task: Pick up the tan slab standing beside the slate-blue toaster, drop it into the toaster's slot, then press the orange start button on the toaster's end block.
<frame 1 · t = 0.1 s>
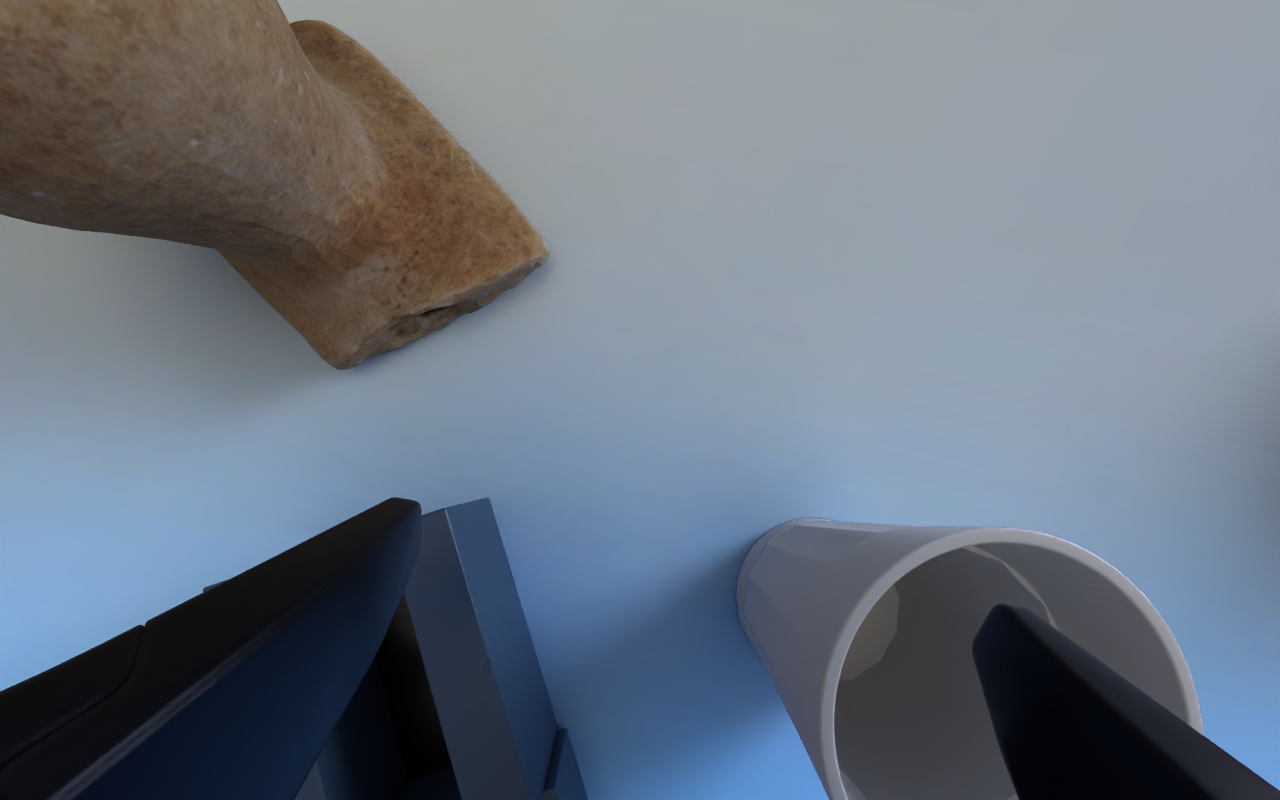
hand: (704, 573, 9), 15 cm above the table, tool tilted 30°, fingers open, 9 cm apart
toaster: (432, 641, 23), on the table
cup: (811, 595, 24), on the table
stone cup: (341, 226, 25), on the table
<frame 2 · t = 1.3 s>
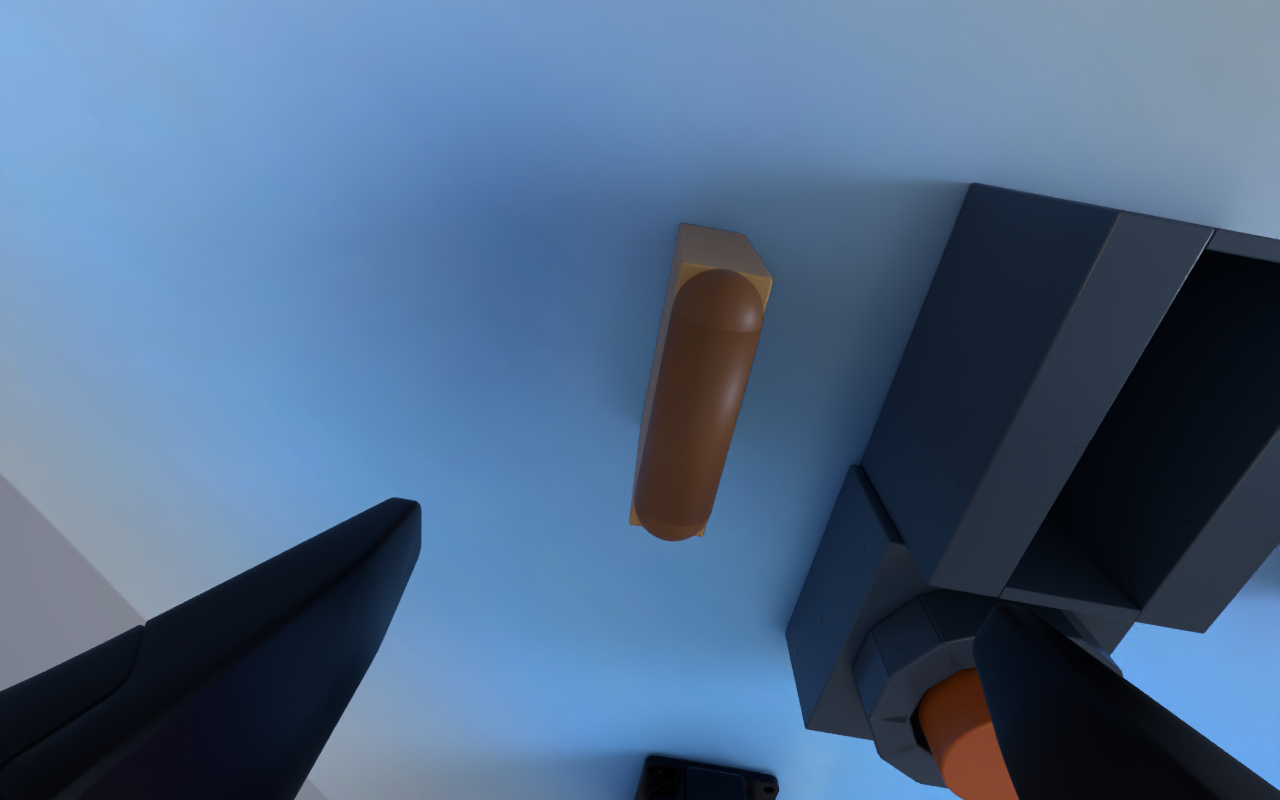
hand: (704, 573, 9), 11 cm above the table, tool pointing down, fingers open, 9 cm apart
tan slab: (689, 338, 19), on the table
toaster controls: (916, 573, 22), on the table
toaster: (1023, 359, 18), on the table
start button: (1002, 734, 16), point 6 cm above the table, slide at 0.1 cm
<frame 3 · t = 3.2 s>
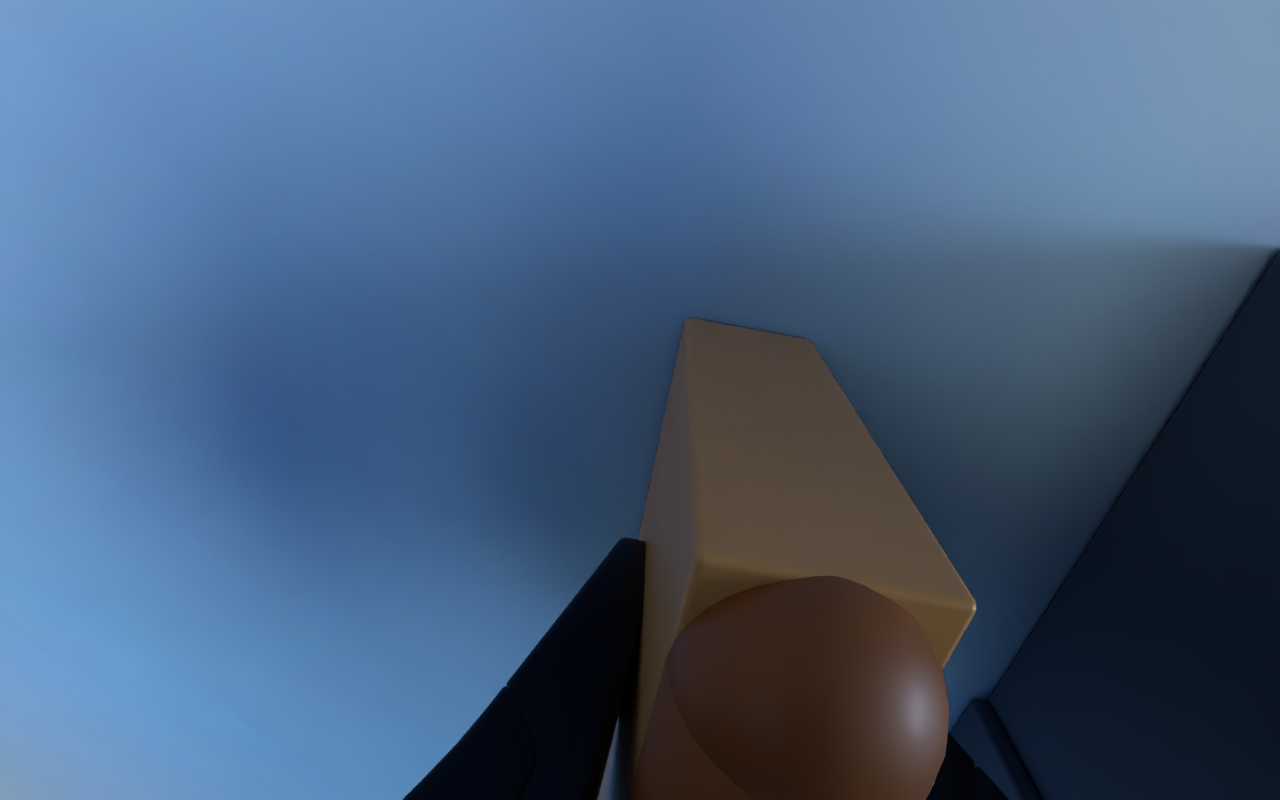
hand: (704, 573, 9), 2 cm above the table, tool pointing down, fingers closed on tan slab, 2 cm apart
tan slab: (700, 510, 10), on the table, touching gripper
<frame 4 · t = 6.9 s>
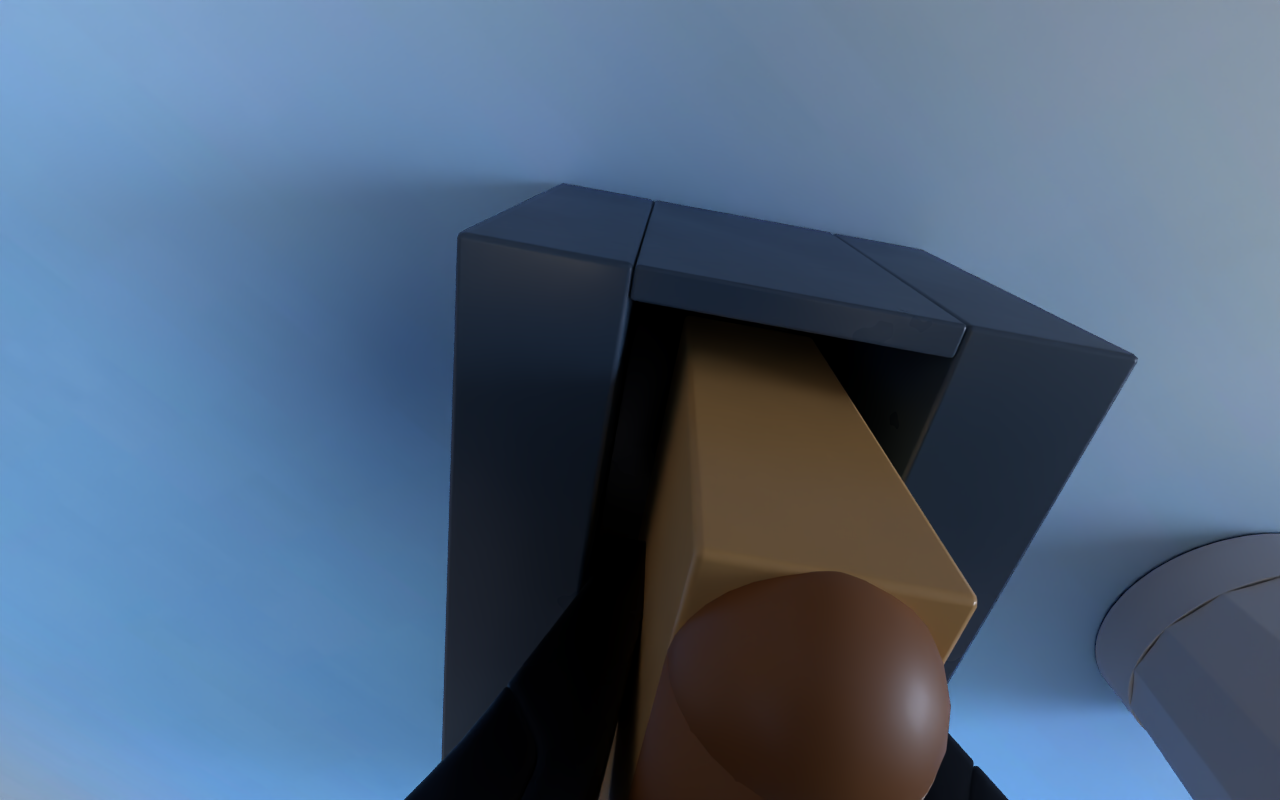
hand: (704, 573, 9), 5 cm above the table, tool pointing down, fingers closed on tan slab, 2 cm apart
tan slab: (700, 508, 10), point 3 cm above the table, touching gripper
toaster: (694, 421, 13), on the table
cup: (1219, 623, 15), on the table
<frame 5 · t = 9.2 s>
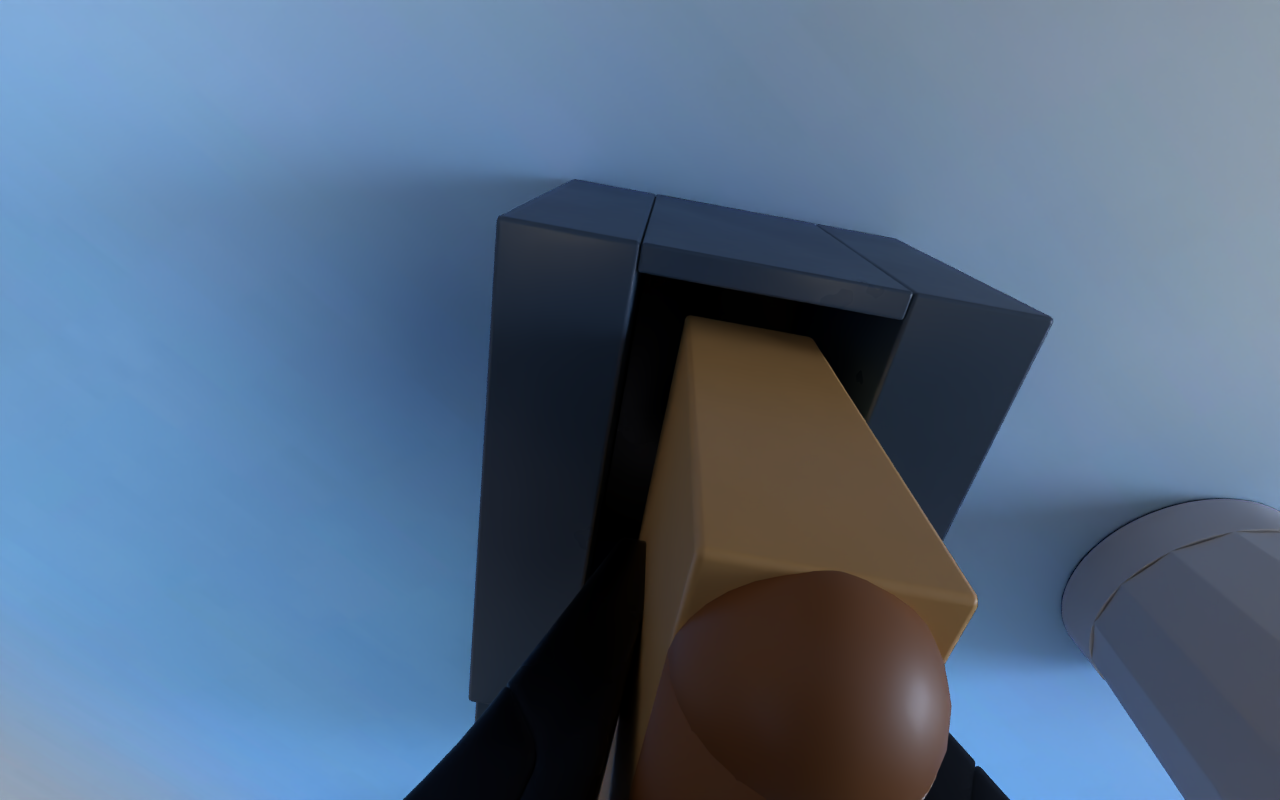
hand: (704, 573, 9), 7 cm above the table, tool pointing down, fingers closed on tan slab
tan slab: (701, 508, 10), point 5 cm above the table, touching gripper
toaster: (692, 396, 15), on the table
cup: (1175, 584, 17), on the table
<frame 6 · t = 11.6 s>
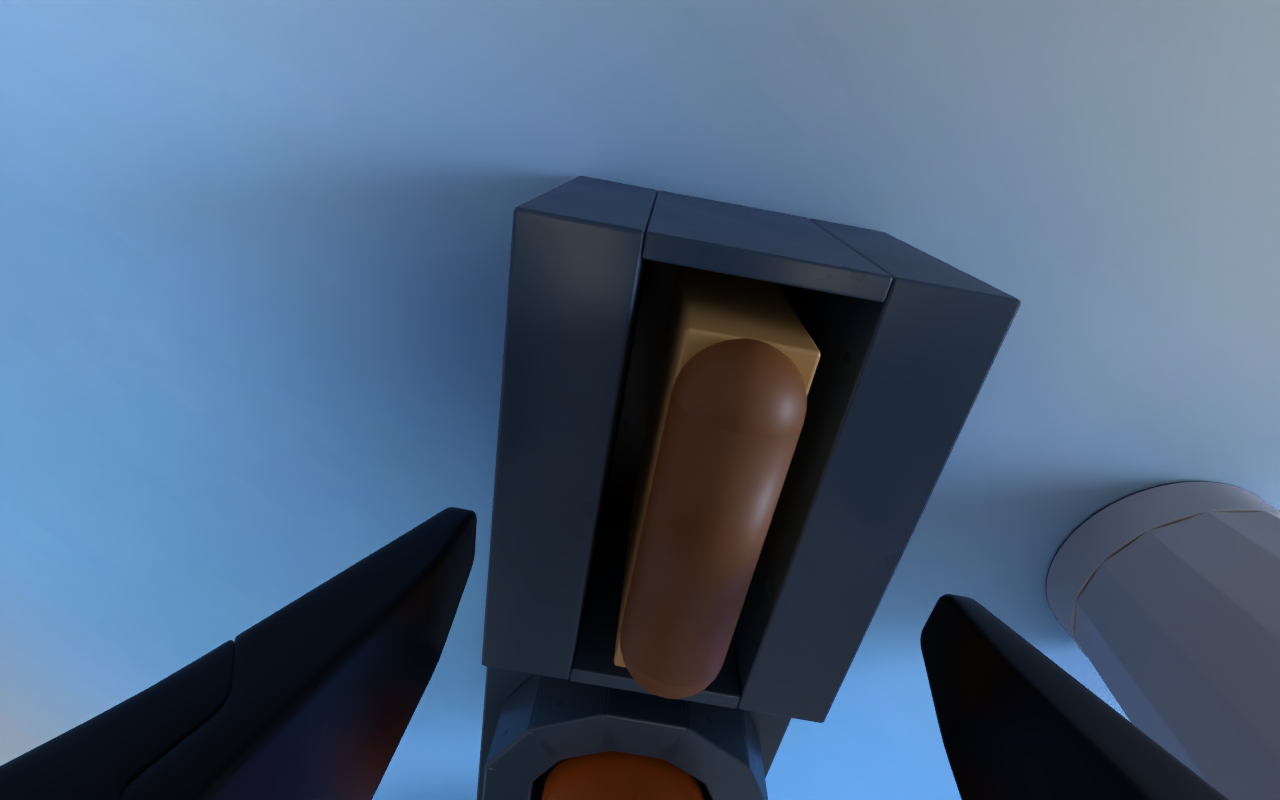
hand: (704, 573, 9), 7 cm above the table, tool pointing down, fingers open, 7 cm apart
tan slab: (693, 396, 15), point 1 cm above the table, touching toaster
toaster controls: (637, 622, 19), on the table
toaster: (692, 383, 16), on the table
cup: (1154, 565, 17), on the table
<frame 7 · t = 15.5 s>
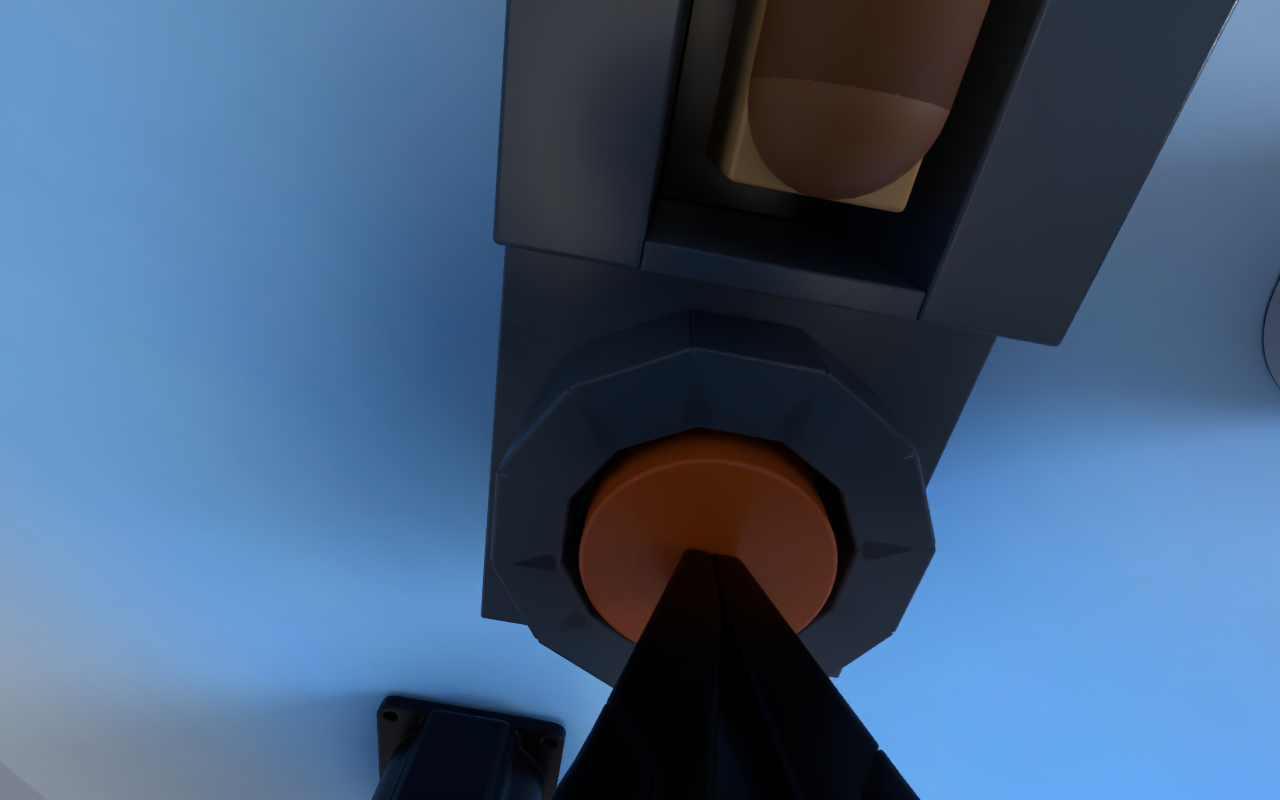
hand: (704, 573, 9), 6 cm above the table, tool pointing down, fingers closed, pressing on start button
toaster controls: (694, 397, 15), on the table
start button: (704, 535, 10), point 5 cm above the table, slide at -0.9 cm, touching gripper
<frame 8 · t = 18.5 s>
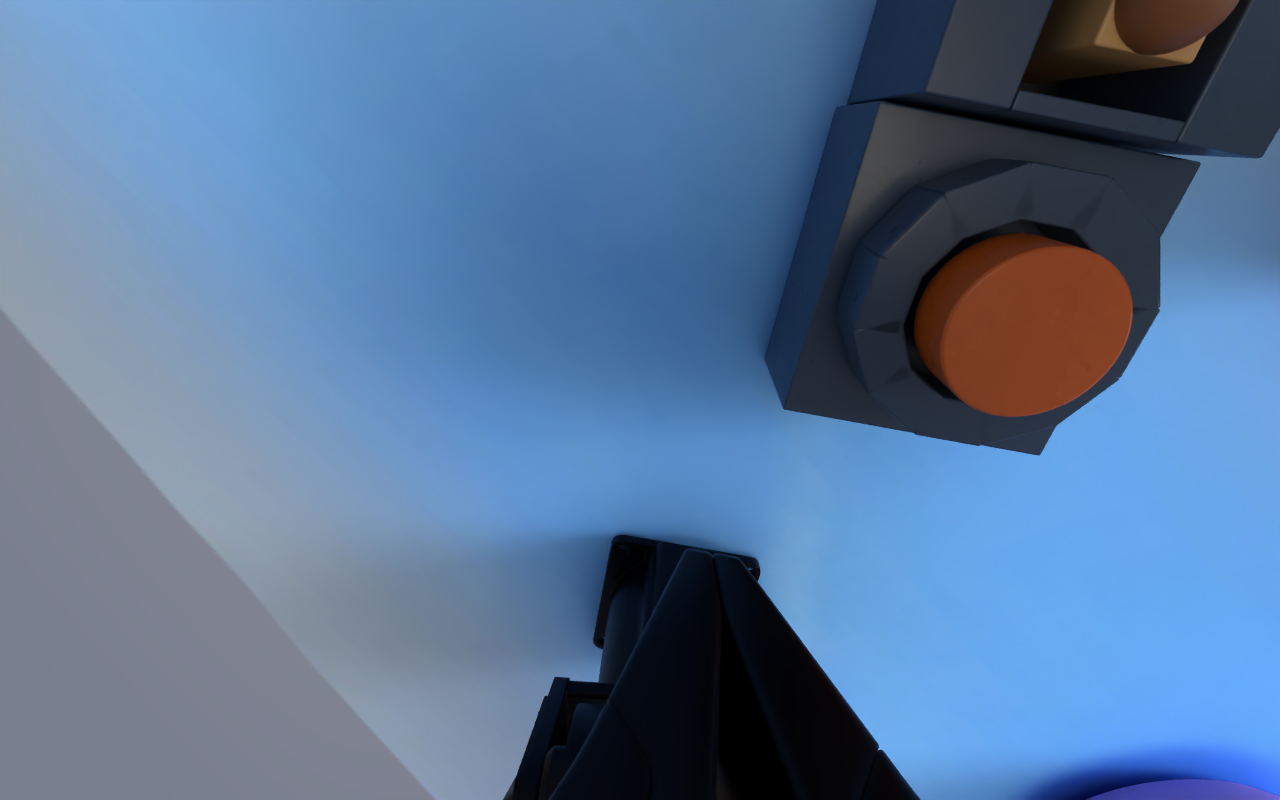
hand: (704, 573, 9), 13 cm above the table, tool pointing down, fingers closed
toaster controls: (912, 266, 19), on the table
start button: (1014, 325, 14), point 6 cm above the table, slide at 0.1 cm
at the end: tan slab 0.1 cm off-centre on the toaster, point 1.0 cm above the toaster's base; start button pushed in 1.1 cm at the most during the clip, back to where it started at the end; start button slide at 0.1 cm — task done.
